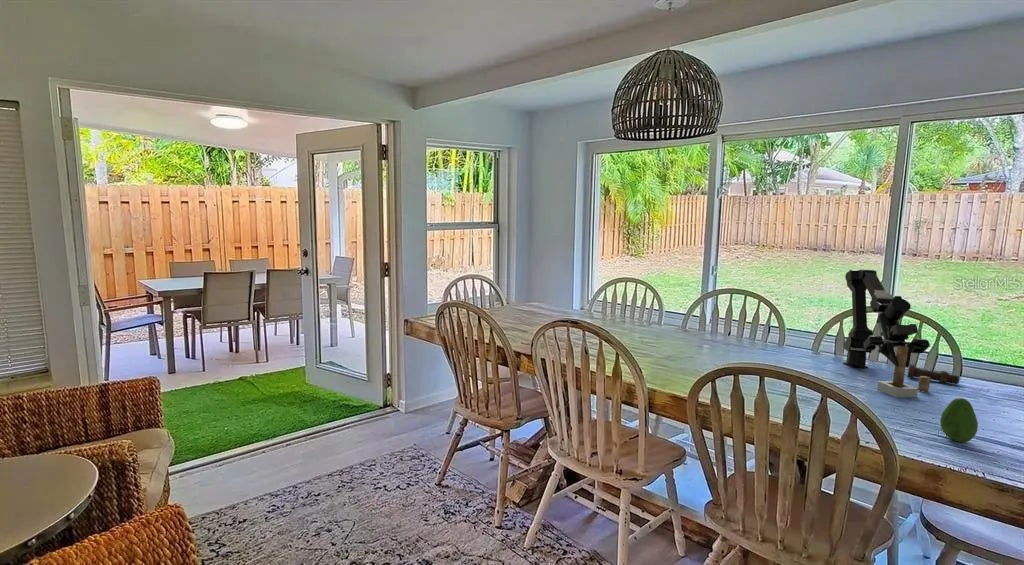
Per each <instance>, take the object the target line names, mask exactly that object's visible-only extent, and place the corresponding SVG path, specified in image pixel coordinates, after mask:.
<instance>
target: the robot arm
mask: <svg viewBox="0 0 1024 565" xmlns="http://www.w3.org/2000/svg"><path fill="white" fill-rule="evenodd" d="M877 274H878V272H877V271H876V270H875V269H871V268H863V269H849V270H848V271H847V272H846V273H845V280H846V286H847V288H848V289H849V290H850V292H851V299H852V300H851V302H852V303H851V304H852V306H851V307H852V310H851V311H852V328H851V329H850V331H848V336H847V338H846V339H845V341H844V342H843V349H844V350H845V351H847V354H846V361H843V362H842V364H844V365H847V366H849V367H852V368H853V369H854V368H856V369H857V368H869V365H867V364H866V362H867V353H869V354H871V353H872V351H874V350H876V348H877V346H878V348H879V349H878V350H877V352H878V353H879V354H881V355H883V356H884V357H885V358H887V359H888V360H889V361H890V362H891V363H892V364H893V366H894V367H895V366H898V361H897V358H896V351H895V349H894V348H897V347H898V346H906V347H908V354H907V361H906V367H907V368H909V365H910V364H911V358H912V356H911V355H912V354H919V355H921V354H924V353H925V352H926V351H927V350H928V349H929V348H930V346H931V344H930V341H929V340H928V339H926V338H914V339H913V340H912V341H906V340H908V339H909V336H913V335H915V334H918V332H919V331H918V326H917V323H909V324H900V322H899V321H900V320H902V319H903V318H904V317H905V316H906V315H907V313H908V312H909V311H910V309H911V308H912V306H911V303H909V301H908V300H906V299H904V298H903V297H902V296H901V295H893V294H891V293H889V292H887V291H886V290H885V288H884V286H883V283H882V282H881V280H880V279H879V277H878V275H877ZM866 292H868V293H869V295H870V298H871V300H870V302H869V304H870V308H871V310H872V311H873V312H874V313H879V315H878V317H877V319H876V323H877V324H879V326H880V328H881V332H880V335H874V332H873V330H872V329H870V328H869V327H868V316H867V315H868V314H867V293H866Z"/></svg>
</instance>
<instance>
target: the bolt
mask: <svg viewBox="0 0 1024 565" xmlns="http://www.w3.org/2000/svg"><path fill="white" fill-rule="evenodd" d="M907 370H908V371H907V378H908V377H911V378H910V379H912V378H913V379H914V377H915V378H920V376H926V377H930V380H932V381H933V380H934V381H938V382H941V383H940V384H943V383H946V384H947V383H948V384H954V385H958V384H959V383H960V382H959V381H960V376H959V375H955V374H951V373H948V372H947V371H946V370H941V371H940V372H939V371H933V370H927V369H923V368H919V367H916V366H915V364H912V363H910V364H909V366H908V369H907Z"/></svg>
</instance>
